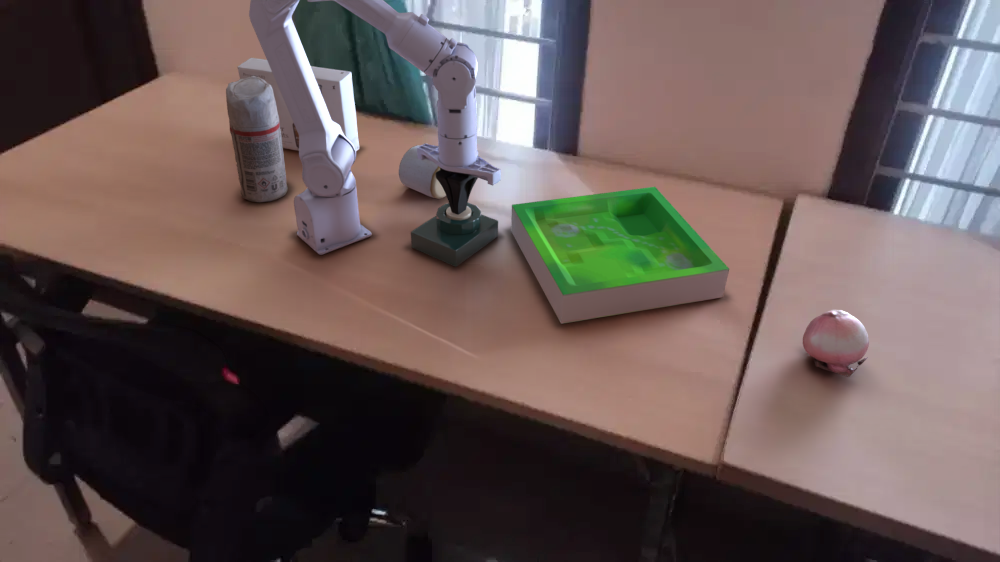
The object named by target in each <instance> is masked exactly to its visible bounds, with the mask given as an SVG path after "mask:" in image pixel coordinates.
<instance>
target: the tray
mask: <svg viewBox="0 0 1000 562" xmlns="http://www.w3.org/2000/svg"><path fill="white" fill-rule="evenodd" d="M510 217H511V218H510V219H511V220H510V221H511V222H510V232H511V233H512V236H513V238H514V239H515V241H516V244H517V245H518V246H519V248H520V251H521V252H522V254H523V256H524V258H525V260H526V261H527V263H528V265H529V267H530V269H531V271H532V272H533V274H534V277H535V278H536V280H537V282H538V284H539V286H540V287H541V289H542V291H543V293H544V295H545V297H546V299H547V300H548V302H549V305H550V307H551V308H552V309H553V312H554V314H555V315H556V318H557V319H558V321H559V323H560V324H561V325H562V324H568V323H569V324H570V323H573V322H581V321H588V320H593V319H597V318H605V317H611V316H616V315H622V314H624V315H625V314H628V313H635V312H641V311H648V310H653V309H660V308H665V307H666V308H667V307H672V306H679V305H683V304H690V303H695V302H696V303H697V302H702V301H709V300H714V299H720V298H724V295H725V290H726V286H727V282H728V277H729V273H730V268H729V266H727V264H726V263H725V262H724V261H723V260H722V259H721V258H720V257H719V256H718V255H717V253H716V252H715V251H714V250H713V249H712V248H711V247H710V246H709V244H708V243H707V242H706V241H705V240H704V239H703V238H702V237H701V236H700V234H699V233H698V232H697V231H696V230H695V229H694V228H693V227H692V226H691V224H690V223H689V222H688V221H687V220H686V219H685V218H684V217H683V215H682V214H681V213H680V212H679V211H678V210H677V209H676V208H675V207H674V206H673V204H672V203H671V202H670V201H669V200H668V199H667V198H666V197H665V196H664V194H663V193H661V191H660V190H659V189H658V188H657V187H656V186H648V187H641V188H632V189H626V190H617V191H610V192H602V193H593V194H585V195H578V196H577V195H576V196H570V197H561V198H554V199H553V198H552V199H546V200H539V201H531V202H522V203H515V204H514V203H513V204H511V216H510Z"/></svg>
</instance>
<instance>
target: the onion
mask: <svg viewBox="0 0 1000 562" xmlns="http://www.w3.org/2000/svg"><path fill="white" fill-rule="evenodd" d="M802 347H803V350H804V351H805V352H806V353H807V354H808V355H809V356H811V357H812V360H813V363H814V365H815V367H817V368H820V369H822V370H826V371H828V372H832V373H835V374H838V375H840V376H843V377H848V378H850V377H851V376H852V375H853V373H855V372H856V371H857V370H858V368H859V367H860V366H861V365H862V364H863V363H864V362H865V361H866V360H868V358H869V357H868V356H867V357H865V355H866V353H867V351H868V350H869V347H870V339H869V334H868V332H867V330H866V328H865V326H864V324H863V323H862V322H861V320H859V319H858V318H857V317H855V316H854V315H852V314H850V313H849V312H847V311H845V310H842V309H830V310H828V311H827V310H826V311H825V312H823V313H821V314H819V315H817V316H816V317H814V318H813V319H812V320H811V321H810V322H809V323H808V325H807V327H805V331H804V333H803V335H802ZM856 363H857V366H856V368H852V367H849V366H851V365H854V364H856Z"/></svg>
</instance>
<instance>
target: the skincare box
mask: <svg viewBox="0 0 1000 562" xmlns="http://www.w3.org/2000/svg"><path fill="white" fill-rule="evenodd" d="M310 66H311V69H312V71H313V74H314V77H315V79H316V82H317V84H318V87H319V89H320V92H321V94H322V97H323V99H324V102H325V105H326V107H327V110H328V112H329V115H330V117H331V120H332V121H334V122H335V123H337V124H339V125H340V127H341V130H342V132H343V134H344V135H345V136H346V137H347V138H348V139H349V140H350V141H351V142H352V144H353V145H354V147H355V150H356V152H357V151H359V150H360V143H359V141H360V140H359V134H358V133H359V132H358V123H357V111H356V105H355V104H356V102H355V96H354V86H353V76H352V71H348V70H341V69H336V68H335V69H334V68H327V67H318V66H313V65H310ZM237 71H238V76H239V79H245V78H248V77H252V76H255V77H259V78H261V79H263V80H264V81H266V82H267V83H268V84H269V85H271V87H272V89H273V94H274V98H275V102H276V107H277V113H278V116H279V122H280V131H281V138H282V146H283V149H286V150H292V151H297V152H299V134H298V132H297V129H296V127H295V125H294V122H293V120H292V118H291V115H290V113H289V111H288V108H287V106H286V103H285V101H284V99H283V96H282V94H281V92H280V89H279V87H278V85H277V82H276V80H275V78H274V75H273V73H272V70H271V68H270V66H269V63H268V61H267V59H263V58H257V57H249V58H248V59H246V60H245V61H243V62H242V63H241V64H239V65H238V66H237Z"/></svg>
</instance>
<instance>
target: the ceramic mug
mask: <svg viewBox="0 0 1000 562" xmlns="http://www.w3.org/2000/svg"><path fill="white" fill-rule="evenodd" d="M419 146H420V144H419V145H417V144H416V145H414V146H411V147H410V148H409V149H407V150H406V152H405V153H404V154H403V156H402V158H401V160H400V162H399V164H398V165H399V166H398V178H399V181H400V183H401V185H403V186H405V187H407V188H409V189H410V190H414V191H416V192H418V193H420V194H423V195H425V196H427V197H430V198H433V199H439V200H440V199H443V198H445V197H447V196H446V194H445V191H444V189H443V187H442V186H441V184H440V183H439V181H438V180H437V179H436V172H437V171H439V170H440V168H441V167H439V166H438V165H437V164H435V163H434V162H433V161H430V160H427V159H424V160H420V159H418V158H417V147H419Z"/></svg>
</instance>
